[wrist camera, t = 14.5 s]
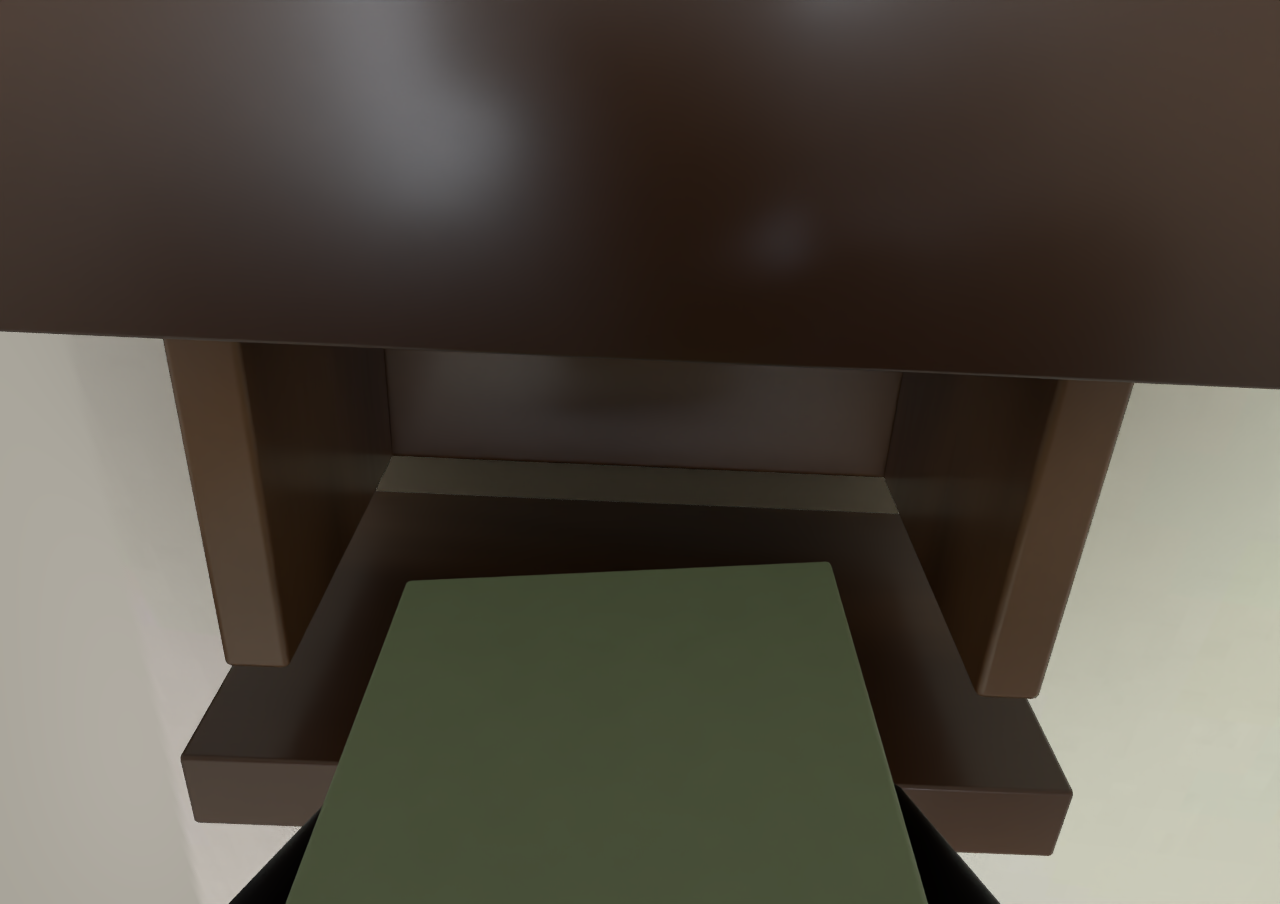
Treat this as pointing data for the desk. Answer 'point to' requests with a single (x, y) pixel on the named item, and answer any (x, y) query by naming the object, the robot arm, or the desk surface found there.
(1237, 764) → the desk surface
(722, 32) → the cabinet
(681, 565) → the drawer
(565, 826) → the block
